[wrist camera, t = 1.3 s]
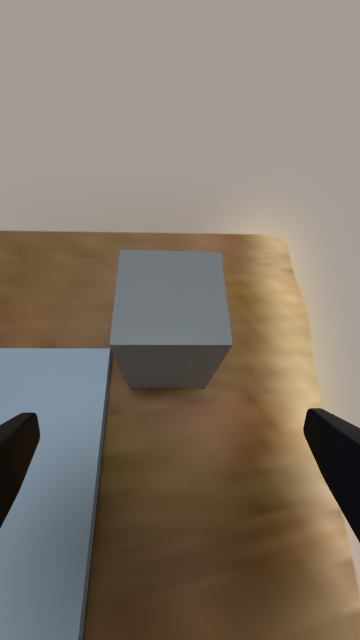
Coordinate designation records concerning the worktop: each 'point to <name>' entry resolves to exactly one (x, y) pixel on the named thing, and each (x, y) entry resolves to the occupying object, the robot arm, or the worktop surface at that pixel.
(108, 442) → the worktop surface
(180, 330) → the tall gray block
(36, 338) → the worktop surface
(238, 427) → the worktop surface
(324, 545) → the worktop surface
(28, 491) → the board
